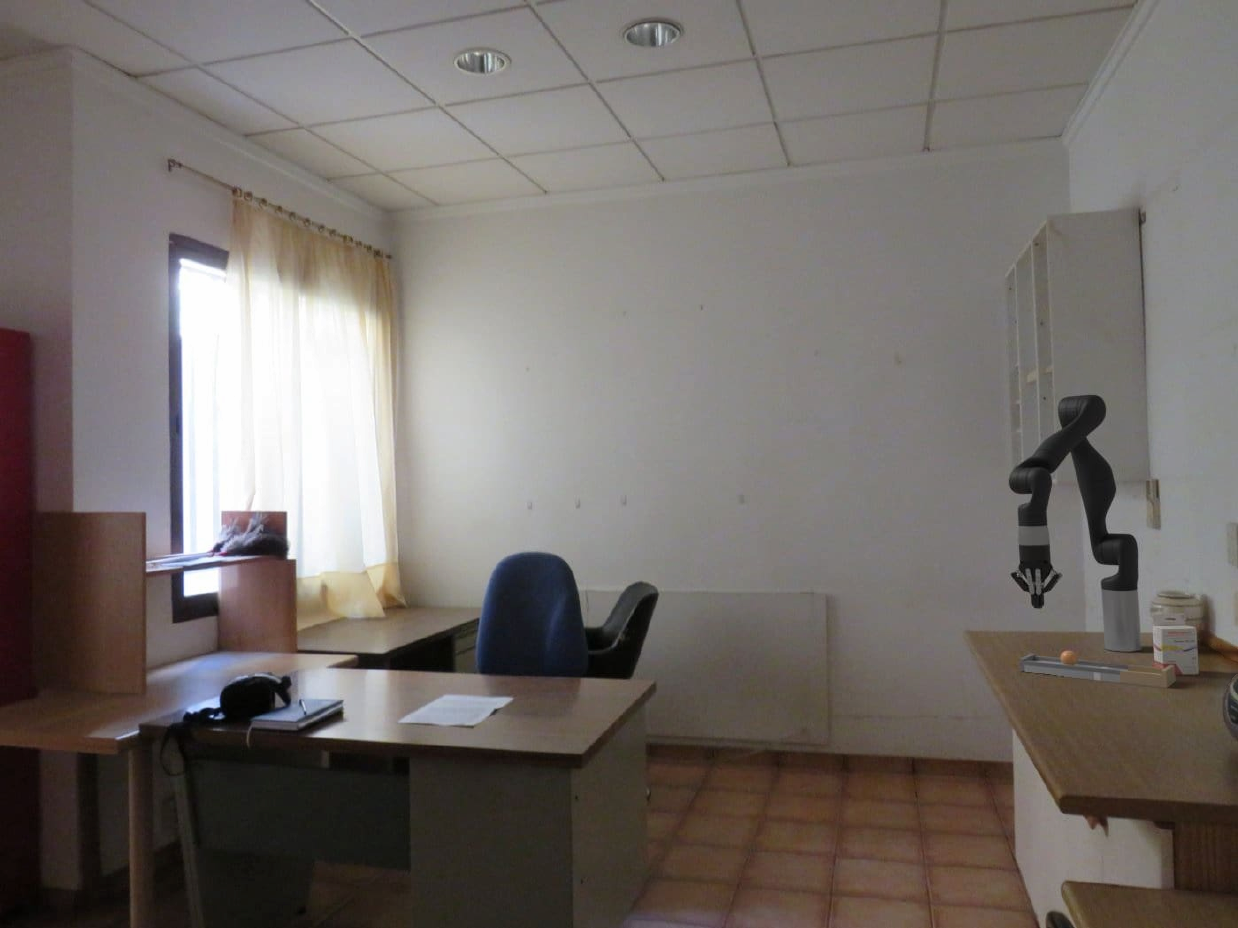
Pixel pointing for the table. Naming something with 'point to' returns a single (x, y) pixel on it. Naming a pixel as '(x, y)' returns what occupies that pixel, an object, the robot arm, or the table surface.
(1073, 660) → the ball
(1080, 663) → the lane
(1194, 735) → the table surface
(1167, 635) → the ink cartridge box
